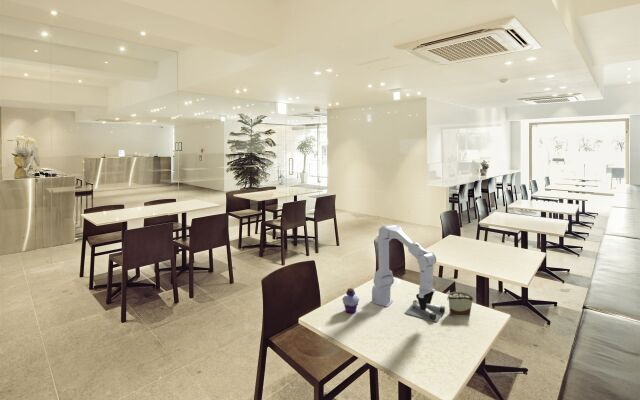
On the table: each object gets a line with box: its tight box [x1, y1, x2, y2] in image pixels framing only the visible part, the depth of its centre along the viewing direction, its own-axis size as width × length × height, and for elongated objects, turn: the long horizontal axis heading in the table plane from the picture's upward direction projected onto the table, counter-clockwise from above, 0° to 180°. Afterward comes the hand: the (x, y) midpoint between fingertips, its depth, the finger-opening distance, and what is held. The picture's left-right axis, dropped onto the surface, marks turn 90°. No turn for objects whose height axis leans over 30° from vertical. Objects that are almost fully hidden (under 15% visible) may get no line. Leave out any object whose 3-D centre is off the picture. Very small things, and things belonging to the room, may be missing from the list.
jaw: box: [412, 299, 436, 320], centre depth 166 cm, size 15×3×4 cm, turn 23°
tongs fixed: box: [415, 299, 446, 314], centre depth 170 cm, size 16×2×3 cm, turn 55°
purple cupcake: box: [341, 287, 360, 315], centre depth 170 cm, size 9×9×12 cm
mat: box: [404, 303, 444, 323], centre depth 167 cm, size 16×12×1 cm
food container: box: [447, 291, 474, 317], centre depth 166 cm, size 12×6×10 cm, turn 84°
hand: (425, 306), depth 154 cm, fingers open, 7 cm apart
